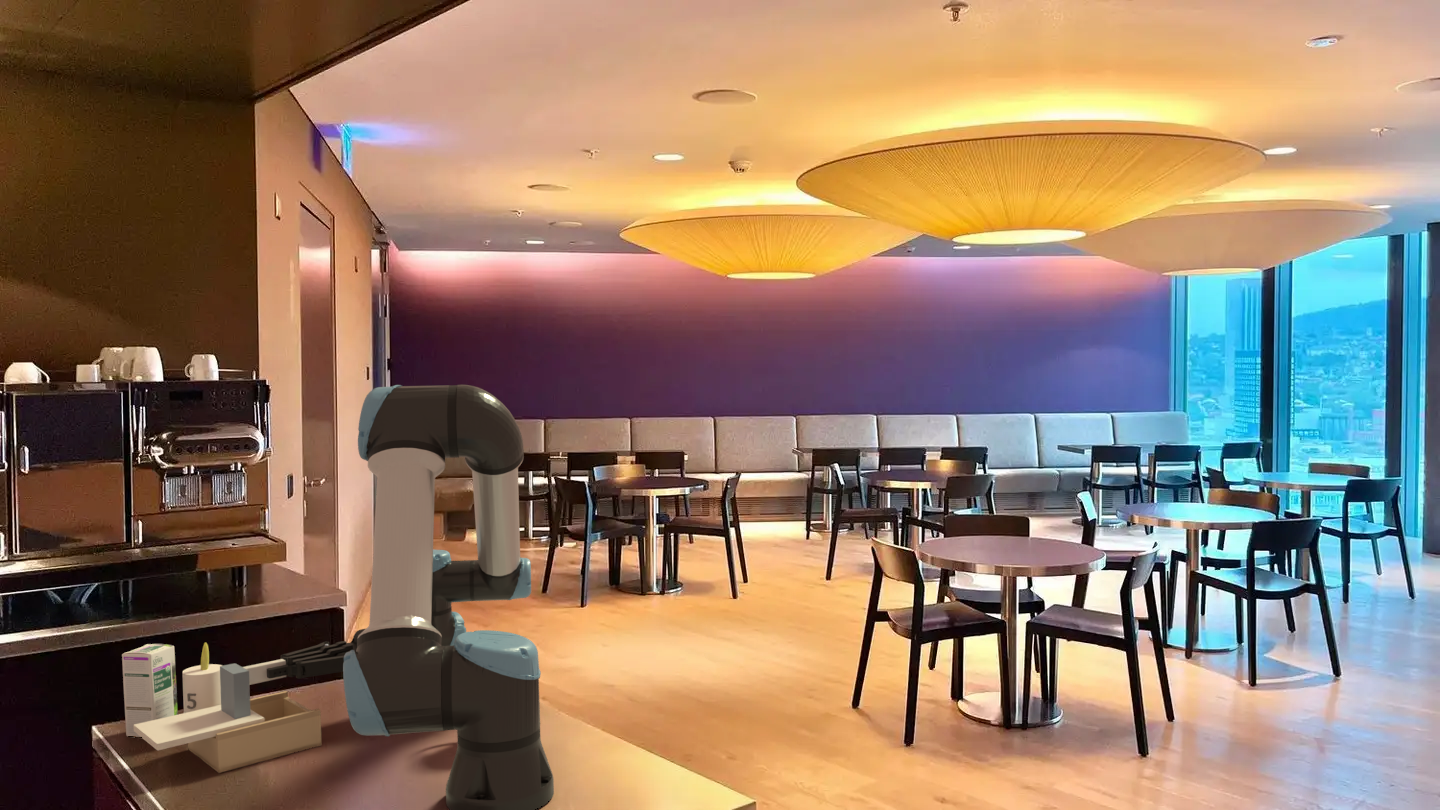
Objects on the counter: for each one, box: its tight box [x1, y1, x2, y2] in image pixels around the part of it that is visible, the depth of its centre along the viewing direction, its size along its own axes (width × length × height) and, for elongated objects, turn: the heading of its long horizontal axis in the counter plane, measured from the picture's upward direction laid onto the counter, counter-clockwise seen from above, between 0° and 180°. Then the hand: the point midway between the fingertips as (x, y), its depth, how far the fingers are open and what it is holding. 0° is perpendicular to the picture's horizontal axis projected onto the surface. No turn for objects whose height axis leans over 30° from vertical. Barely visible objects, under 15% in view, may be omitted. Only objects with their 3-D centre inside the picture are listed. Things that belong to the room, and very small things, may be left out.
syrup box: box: [121, 643, 179, 737], centre depth 179 cm, size 6×6×14 cm
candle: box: [182, 642, 223, 713], centre depth 180 cm, size 6×6×15 cm
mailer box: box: [187, 690, 322, 774], centre depth 172 cm, size 16×14×6 cm
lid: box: [134, 663, 265, 751], centre depth 166 cm, size 16×12×8 cm
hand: (243, 676), depth 170 cm, fingers closed
